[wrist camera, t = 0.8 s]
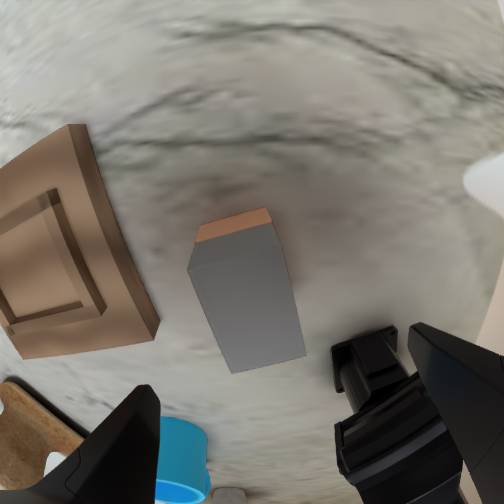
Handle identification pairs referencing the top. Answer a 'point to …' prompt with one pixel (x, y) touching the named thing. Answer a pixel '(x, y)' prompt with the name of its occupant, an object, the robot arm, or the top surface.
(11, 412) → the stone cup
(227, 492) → the house plant
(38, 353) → the walnut cradle stand
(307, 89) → the top surface
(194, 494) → the mug
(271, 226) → the block
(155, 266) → the top surface
